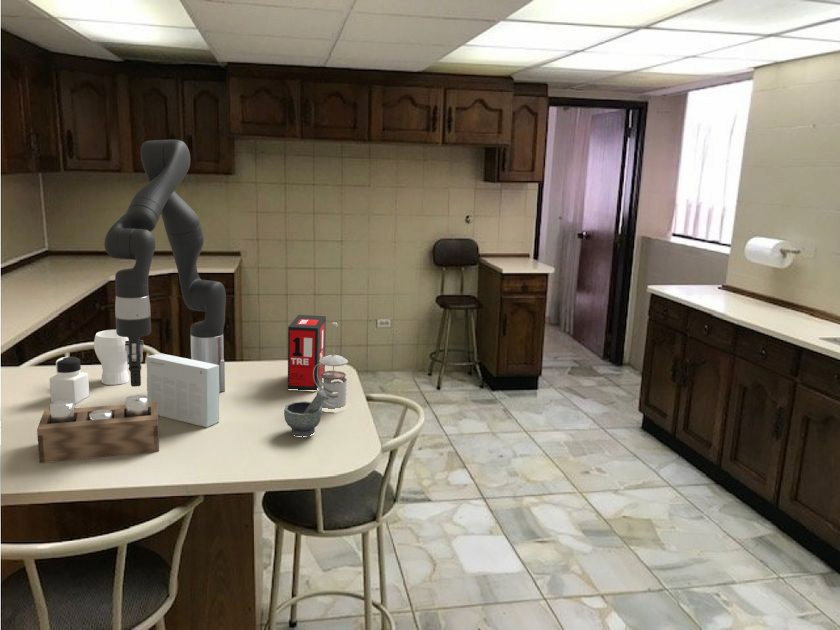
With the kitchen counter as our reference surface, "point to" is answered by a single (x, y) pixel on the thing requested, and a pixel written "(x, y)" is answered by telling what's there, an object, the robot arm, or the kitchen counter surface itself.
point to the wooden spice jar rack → (97, 434)
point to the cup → (112, 357)
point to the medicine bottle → (69, 381)
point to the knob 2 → (137, 405)
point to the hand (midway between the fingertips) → (136, 385)
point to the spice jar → (100, 414)
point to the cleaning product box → (305, 351)
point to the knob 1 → (62, 411)
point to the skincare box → (184, 389)
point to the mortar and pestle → (304, 415)
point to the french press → (328, 387)
